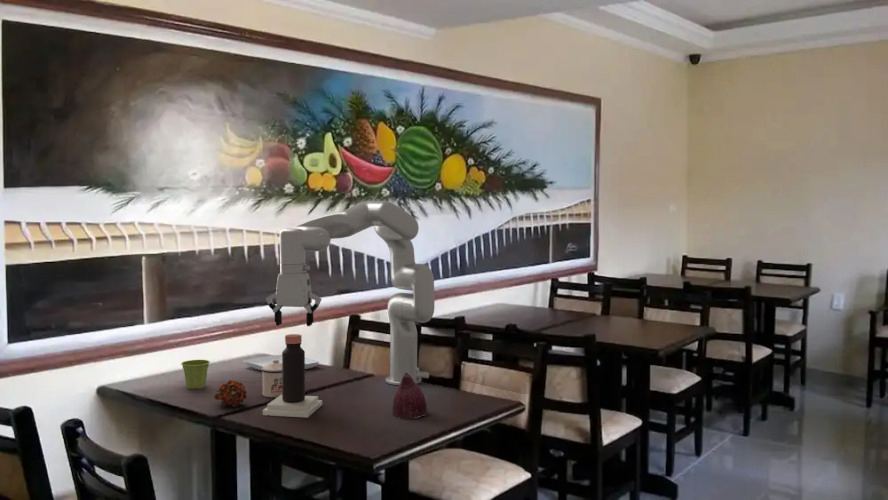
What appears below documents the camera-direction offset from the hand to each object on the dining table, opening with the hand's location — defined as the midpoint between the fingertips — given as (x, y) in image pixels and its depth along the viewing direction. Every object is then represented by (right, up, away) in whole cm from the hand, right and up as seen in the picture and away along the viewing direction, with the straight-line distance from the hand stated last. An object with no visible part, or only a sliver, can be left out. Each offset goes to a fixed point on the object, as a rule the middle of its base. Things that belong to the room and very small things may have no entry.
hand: (294, 325), depth 234 cm
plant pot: (-39, -24, +28) cm, 54 cm away
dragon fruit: (-21, -26, +6) cm, 34 cm away
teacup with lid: (-9, -25, +21) cm, 34 cm away
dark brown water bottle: (0, -23, +1) cm, 23 cm away
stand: (-1, -26, +1) cm, 26 cm away
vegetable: (+35, -27, -2) cm, 44 cm away
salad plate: (-16, -23, +58) cm, 65 cm away
